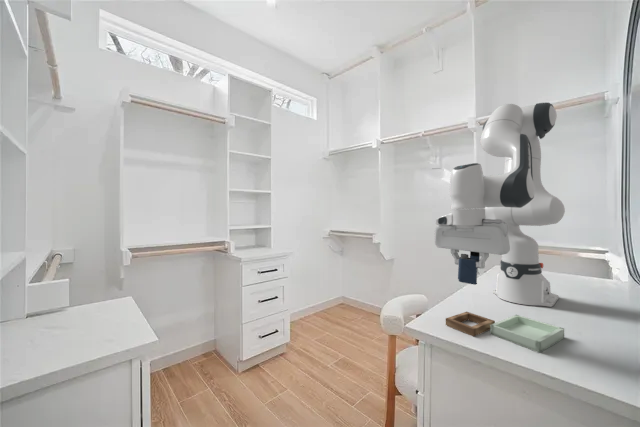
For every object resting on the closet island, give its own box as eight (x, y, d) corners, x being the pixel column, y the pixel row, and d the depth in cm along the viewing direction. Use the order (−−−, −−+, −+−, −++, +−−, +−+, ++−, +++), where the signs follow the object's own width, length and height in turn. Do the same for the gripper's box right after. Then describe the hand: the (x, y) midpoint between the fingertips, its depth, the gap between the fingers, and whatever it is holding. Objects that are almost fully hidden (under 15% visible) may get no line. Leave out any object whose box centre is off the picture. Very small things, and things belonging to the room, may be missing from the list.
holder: (466, 317, 80) (466, 311, 80) (494, 327, 73) (494, 320, 73) (445, 325, 75) (445, 318, 75) (473, 336, 68) (473, 329, 68)
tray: (516, 323, 76) (516, 314, 76) (564, 338, 66) (564, 328, 66) (490, 334, 69) (490, 325, 69) (539, 352, 59) (539, 342, 59)
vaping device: (477, 285, 72) (480, 243, 71) (457, 281, 75) (459, 241, 74) (478, 283, 74) (481, 242, 73) (458, 279, 77) (460, 240, 76)
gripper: (514, 218, 67) (515, 271, 67) (443, 218, 84) (444, 259, 85) (501, 219, 64) (502, 274, 64) (430, 219, 81) (432, 262, 82)
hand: (469, 266), depth 74 cm, fingers closed on vaping device, 5 cm apart
